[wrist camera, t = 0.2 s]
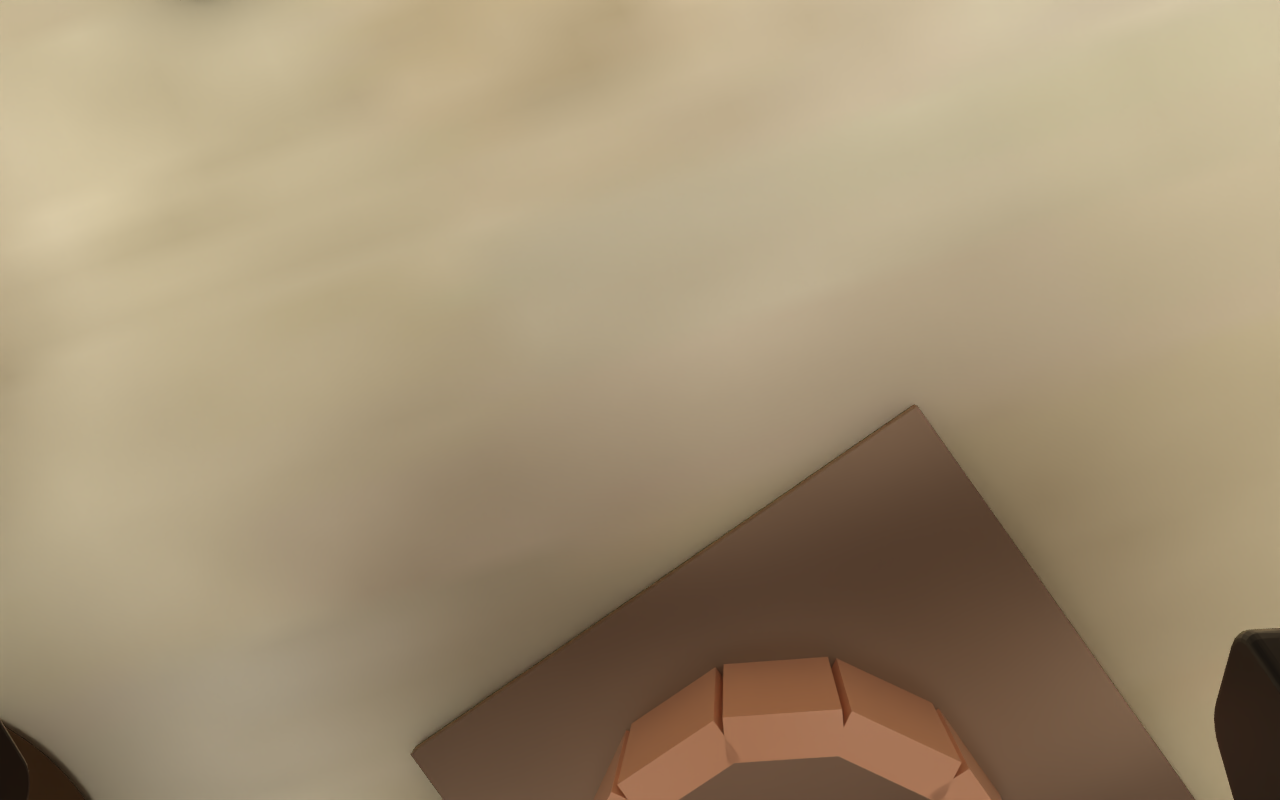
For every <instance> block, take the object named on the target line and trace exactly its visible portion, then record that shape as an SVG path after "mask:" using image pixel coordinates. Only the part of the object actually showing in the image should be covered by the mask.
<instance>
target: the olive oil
mask: <svg viewBox="0 0 1280 800" xmlns="http://www.w3.org/2000/svg"><path fill="white" fill-rule="evenodd" d="M5 728H6V727H5ZM6 730H7V731H8V733H9V735H10V736H11V738H12V739H13V741H14V743H15V744H16V746H17V748H18V749H19V751H20V753H21V754H22V756H23V757H24V759H25V761H26V763H27V767H28V770H29V777H30V788H29V796H28V800H85V799H84V798H83V796H82V795H81V793H80V792H79V791H78V790H77V788H76V787H75V786H74V785H73V783H72V782H71V781H70V780H69V779H68V778H67V776H66V775H65V774H64V773H63V772H62V771H61V770H60V769H59V768H58V767H57V766H56V765H55V764H54V763H53V762H52V761H51V760H50V759H49V758H47V757H46V756H45V755H44V754H43V753H42V752H41V751H39V750H38V749H37V748H36V747H34V746H33V745H32V744H30V743H29V742H28V741H26V740H25V739H23V738H22V737H20V736H19V735H17V734H16V733H14V732H12V731H11V730H9V729H7V728H6Z"/></svg>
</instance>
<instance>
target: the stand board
mask: <svg viewBox="0 0 1280 800" xmlns="http://www.w3.org/2000/svg"><path fill="white" fill-rule="evenodd" d="M817 657H828V659H829V663H830V667H831V668H832V666H833V664H834V662H835V660H836V658H837V659H839V660H841V661H843V662H845V663H848V664H850V665H852V666H854V667H856V668H858V669H860V670H863V671H865V672H867V673H869V674H871V675H873V676H876V677H878V678H880V679H882V680H884V681H886V682H888V683H891V684H893V685H895V686H897V687H899V688H901V689H903V690H906V691H908V692H910V693H912V694H914V695H916V696H918V697H921V698H923V699H925V700H927V701H929V702H931V703H932V704H933V706H934V708H935V710H937V709H940V711H941V712H942V714H943V715H944V716H945V718H946V719H947V721H948V722H949V724H950V725H951V726H952V728H953V729H954V731H955V732H956V733H957V735H958V736H959V738H960V739H961V740H962V742H963V743H964V745H965V746H966V747H967V749H968V750H969V752H970V753H971V754H972V756H973V757H974V759H975V760H976V762H977V763H978V764H979V766H980V767H981V769H982V770H983V771H984V773H985V774H986V776H987V777H988V778H989V780H990V781H991V783H992V784H993V785H994V787H995V788H996V790H997V791H998V793H999V794H1000V796H1001V798H1002V800H1195V799H1194V798H1193V796H1192V795H1191V793H1190V792H1189V791H1188V789H1187V788H1186V786H1185V785H1184V783H1183V782H1182V781H1181V779H1180V778H1179V776H1178V775H1177V774H1176V772H1175V771H1174V769H1173V768H1172V766H1171V765H1170V764H1169V762H1168V761H1167V759H1166V758H1165V757H1164V755H1163V754H1162V752H1161V751H1160V749H1159V748H1158V747H1157V745H1156V744H1155V742H1154V741H1153V740H1152V738H1151V737H1150V735H1149V734H1148V732H1147V731H1146V730H1145V728H1144V727H1143V725H1142V724H1141V722H1140V721H1139V720H1138V718H1137V717H1136V715H1135V714H1134V713H1133V711H1132V710H1131V708H1130V707H1129V705H1128V704H1127V703H1126V701H1125V700H1124V698H1123V697H1122V696H1121V694H1120V693H1119V691H1118V690H1117V688H1116V687H1115V686H1114V684H1113V683H1112V681H1111V680H1110V679H1109V677H1108V676H1107V674H1106V673H1105V671H1104V670H1103V669H1102V667H1101V666H1100V664H1099V663H1098V662H1097V660H1096V659H1095V657H1094V656H1093V654H1092V653H1091V652H1090V650H1089V649H1088V647H1087V646H1086V644H1085V643H1084V642H1083V640H1082V639H1081V637H1080V636H1079V635H1078V633H1077V632H1076V630H1075V629H1074V627H1073V626H1072V625H1071V623H1070V622H1069V620H1068V619H1067V618H1066V616H1065V615H1064V613H1063V612H1062V610H1061V609H1060V608H1059V606H1058V605H1057V603H1056V602H1055V601H1054V599H1053V598H1052V596H1051V595H1050V593H1049V592H1048V591H1047V589H1046V588H1045V586H1044V585H1043V584H1042V582H1041V581H1040V579H1039V578H1038V576H1037V575H1036V574H1035V572H1034V571H1033V569H1032V568H1031V566H1030V565H1029V564H1028V562H1027V561H1026V559H1025V558H1024V557H1023V555H1022V554H1021V552H1020V551H1019V549H1018V548H1017V547H1016V545H1015V544H1014V542H1013V541H1012V540H1011V538H1010V537H1009V535H1008V534H1007V532H1006V531H1005V530H1004V528H1003V527H1002V525H1001V524H1000V523H999V521H998V520H997V518H996V517H995V515H994V514H993V513H992V511H991V510H990V508H989V507H988V506H987V504H986V503H985V501H984V500H983V498H982V497H981V496H980V494H979V493H978V491H977V490H976V488H975V487H974V486H973V484H972V483H971V481H970V480H969V479H968V477H967V476H966V474H965V473H964V471H963V470H962V469H961V467H960V466H959V464H958V463H957V462H956V460H955V459H954V457H953V456H952V454H951V453H950V452H949V450H948V449H947V447H946V446H945V445H944V443H943V442H942V440H941V439H940V437H939V436H938V435H937V433H936V432H935V430H934V429H933V428H932V426H931V425H930V423H929V422H928V420H927V419H926V418H925V416H924V415H923V413H922V412H921V410H920V409H919V408H918V406H916V405H913V406H911V407H910V408H908V409H907V410H906V411H904V412H903V413H901V414H900V415H898V416H897V417H895V418H894V419H892V420H891V421H890V422H888V423H887V424H885V425H884V426H882V427H881V428H879V429H878V430H876V431H875V432H874V433H872V434H871V435H869V436H868V437H866V438H865V439H863V440H862V441H860V442H859V443H858V444H856V445H855V446H853V447H852V448H850V449H849V450H847V451H846V452H844V453H843V454H841V455H840V456H839V457H837V458H836V459H834V460H833V461H831V462H830V463H828V464H827V465H825V466H824V467H823V468H821V469H820V470H818V471H817V472H815V473H814V474H812V475H811V476H809V477H808V478H807V479H805V480H804V481H802V482H801V483H799V484H798V485H796V486H795V487H793V488H792V489H791V490H789V491H788V492H786V493H785V494H783V495H782V496H780V497H779V498H777V499H776V500H774V501H773V502H772V503H770V504H769V505H767V506H766V507H764V508H763V509H761V510H760V511H758V512H757V513H756V514H754V515H753V516H751V517H750V518H748V519H747V520H745V521H744V522H742V523H741V524H740V525H738V526H737V527H735V528H734V529H732V530H731V531H729V532H728V533H726V534H725V535H724V536H722V537H721V538H719V539H718V540H716V541H715V542H713V543H712V544H710V545H709V546H708V547H706V548H705V549H703V550H702V551H700V552H699V553H697V554H696V555H694V556H693V557H691V558H690V559H689V560H687V561H686V562H684V563H683V564H681V565H680V566H678V567H677V568H675V569H674V570H673V571H671V572H670V573H668V574H667V575H665V576H664V577H662V578H661V579H659V580H658V581H657V582H655V583H654V584H652V585H651V586H649V587H648V588H646V589H645V590H643V591H642V592H641V593H639V594H638V595H636V596H635V597H633V598H632V599H630V600H629V601H627V602H626V603H624V604H623V605H622V606H620V607H619V608H617V609H616V610H614V611H613V612H611V613H610V614H608V615H607V616H606V617H604V618H603V619H601V620H600V621H598V622H597V623H595V624H594V625H592V626H591V627H590V628H588V629H587V630H585V631H584V632H582V633H581V634H579V635H578V636H576V637H575V638H574V639H572V640H571V641H569V642H568V643H566V644H565V645H563V646H562V647H560V648H559V649H558V650H556V651H555V652H553V653H552V654H550V655H549V656H547V657H546V658H544V659H543V660H541V661H540V662H539V663H537V664H536V665H534V666H533V667H531V668H530V669H528V670H527V671H525V672H524V673H523V674H521V675H520V676H518V677H517V678H515V679H514V680H512V681H511V682H509V683H508V684H507V685H505V686H504V687H502V688H501V689H499V690H498V691H496V692H495V693H493V694H492V695H491V696H489V697H488V698H486V699H485V700H483V701H482V702H480V703H479V704H477V705H476V706H474V707H473V708H472V709H470V710H469V711H467V712H466V713H464V714H463V715H461V716H460V717H458V718H457V719H456V720H454V721H453V722H451V723H450V724H448V725H447V726H445V727H444V728H442V729H441V730H440V731H438V732H437V733H435V734H434V735H432V736H431V737H429V738H428V739H426V740H425V741H424V742H422V743H421V744H419V745H418V746H416V747H415V749H414V750H413V751H412V753H411V756H412V757H413V758H414V760H415V761H416V762H417V764H418V765H419V767H420V768H421V769H422V771H423V772H424V774H425V775H426V776H427V778H428V779H429V780H430V782H431V783H432V785H433V786H434V787H435V789H436V790H437V791H438V793H439V794H440V796H441V797H442V798H443V800H593V799H594V797H595V795H596V793H597V791H598V789H599V787H600V784H601V782H602V780H603V778H604V776H605V774H606V772H607V770H608V767H609V765H610V763H611V761H612V759H613V757H614V755H615V753H616V750H617V748H618V746H619V744H620V742H621V740H622V738H623V736H624V733H625V731H626V730H628V731H630V728H631V724H632V723H633V722H635V721H636V720H638V719H639V718H641V717H642V716H644V715H645V714H647V713H648V712H649V711H651V710H652V709H654V708H655V707H657V706H658V705H660V704H661V703H663V702H664V701H666V700H667V699H669V698H670V697H672V696H673V695H675V694H676V693H678V692H679V691H681V690H682V689H684V688H685V687H687V686H688V685H690V684H691V683H693V682H694V681H696V680H697V679H699V678H700V677H702V676H703V675H704V674H706V673H707V672H709V671H710V670H712V669H713V668H715V667H716V668H717V670H718V671H719V673H720V674H721V675H722V677H723V669H724V664H734V663H748V662H762V661H776V660H789V659H803V658H817ZM679 800H931V799H929V798H926V797H924V796H922V795H920V794H918V793H916V792H914V791H911V790H909V789H907V788H905V787H903V786H901V785H899V784H896V783H894V782H892V781H890V780H888V779H886V778H884V777H882V776H879V775H877V774H875V773H873V772H871V771H869V770H867V769H864V768H862V767H860V766H858V765H856V764H854V763H852V762H850V761H847V760H845V759H843V758H841V757H839V756H834V757H819V758H804V759H789V760H774V761H758V762H743V763H734V764H732V765H731V766H729V767H728V768H726V769H725V770H723V771H722V772H720V773H719V774H717V775H716V776H714V777H713V778H711V779H710V780H708V781H707V782H705V783H704V784H702V785H701V786H699V787H698V788H696V789H694V790H693V791H691V792H690V793H688V794H687V795H685V796H684V797H682V798H681V799H679Z"/></svg>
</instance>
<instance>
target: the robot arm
mask: <svg viewBox="0 0 1280 800" xmlns="http://www.w3.org/2000/svg"><path fill="white" fill-rule="evenodd" d="M1214 722H1215V732H1216V738H1217V742H1218V746H1219V750H1220V753H1221V757H1222V760H1223V763H1224V767H1225V770H1226V774H1227V777H1228V781H1229V784H1230V788H1231V791H1232V795H1233V798H1234V800H1280V628H1272V629H1253V630H1246V631H1242V632H1241V633H1240V634H1239V635H1238V636H1237V637H1236V638H1235V639H1234V642H1233V644H1232V646H1231V650H1230V654H1229V657H1228V661H1227V665H1226V668H1225V672H1224V676H1223V679H1222V683H1221V687H1220V690H1219V694H1218V698H1217V701H1216V706H1215V714H1214ZM29 788H30V777H29V770H28V767H27V763H26V761H25V759H24V757H23V756H22V754H21V753H20V751H19V749H18V748H17V746H16V744H15V743H14V741H13V739H12V738H11V736H10V735H9V733H8V731H7V730H6V728H5V726H4V725H3V723H2V722H1V720H0V800H28V796H29Z"/></svg>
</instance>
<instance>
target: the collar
mask: <svg viewBox="0 0 1280 800" xmlns="http://www.w3.org/2000/svg"><path fill="white" fill-rule="evenodd" d="M834 756H839V757H841V758H843V759H845V760H847V761H850V762H852V763H854V764H856V765H858V766H860V767H862V768H864V769H867V770H869V771H871V772H873V773H875V774H877V775H879V776H882V777H884V778H886V779H888V780H890V781H892V782H894V783H896V784H899V785H901V786H903V787H905V788H907V789H909V790H911V791H914V792H916V793H918V794H920V795H922V796H924V797H926V798H929V799H931V800H1002V798H1001V796H1000V794H999V793H998V791H997V790H996V788H995V787H994V785H993V784H992V783H991V781H990V780H989V778H988V777H987V776H986V774H985V773H984V771H983V770H982V769H981V767H980V766H979V764H978V763H977V762H976V760H975V759H974V757H973V756H972V754H971V753H970V752H969V750H968V749H967V747H966V746H965V745H964V743H963V742H962V740H961V739H960V738H959V736H958V735H957V733H956V732H955V731H954V729H953V728H952V726H951V725H950V724H949V722H948V721H947V719H946V718H945V716H944V715H943V714H942V712H941V711H940V709H937V710H935V708H934V706H933V704H932V703H931V702H929V701H927V700H925V699H923V698H921V697H918V696H916V695H914V694H912V693H910V692H908V691H906V690H903V689H901V688H899V687H897V686H895V685H893V684H891V683H888V682H886V681H884V680H882V679H880V678H878V677H876V676H873V675H871V674H869V673H867V672H865V671H863V670H860V669H858V668H856V667H854V666H852V665H850V664H848V663H845V662H843V661H841V660H839V659H837V658H836V660H835V662H834V664H833V666H832V668H831V667H830V663H829V659H828V657H817V658H803V659H789V660H776V661H762V662H748V663H734V664H724V669H723V677H722V675H721V674H720V673H719V671H718V670H717V668H716V667H715V668H713V669H712V670H710V671H709V672H707V673H706V674H704V675H703V676H702V677H700V678H699V679H697V680H696V681H694V682H693V683H691V684H690V685H688V686H687V687H685V688H684V689H682V690H681V691H679V692H678V693H676V694H675V695H673V696H672V697H670V698H669V699H667V700H666V701H664V702H663V703H661V704H660V705H658V706H657V707H655V708H654V709H652V710H651V711H649V712H648V713H647V714H645V715H644V716H642V717H641V718H639V719H638V720H636V721H635V722H633V723H632V724H631V728H630V731H628V730H626V731H625V733H624V736H623V738H622V740H621V742H620V744H619V746H618V748H617V750H616V753H615V755H614V757H613V759H612V761H611V763H610V765H609V767H608V770H607V772H606V774H605V776H604V778H603V780H602V782H601V784H600V787H599V789H598V791H597V793H596V795H595V797H594V799H593V800H679V799H681V798H682V797H684V796H685V795H687V794H688V793H690V792H691V791H693V790H694V789H696V788H698V787H699V786H701V785H702V784H704V783H705V782H707V781H708V780H710V779H711V778H713V777H714V776H716V775H717V774H719V773H720V772H722V771H723V770H725V769H726V768H728V767H729V766H731V765H732V764H734V763H743V762H758V761H774V760H789V759H804V758H819V757H834Z"/></svg>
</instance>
